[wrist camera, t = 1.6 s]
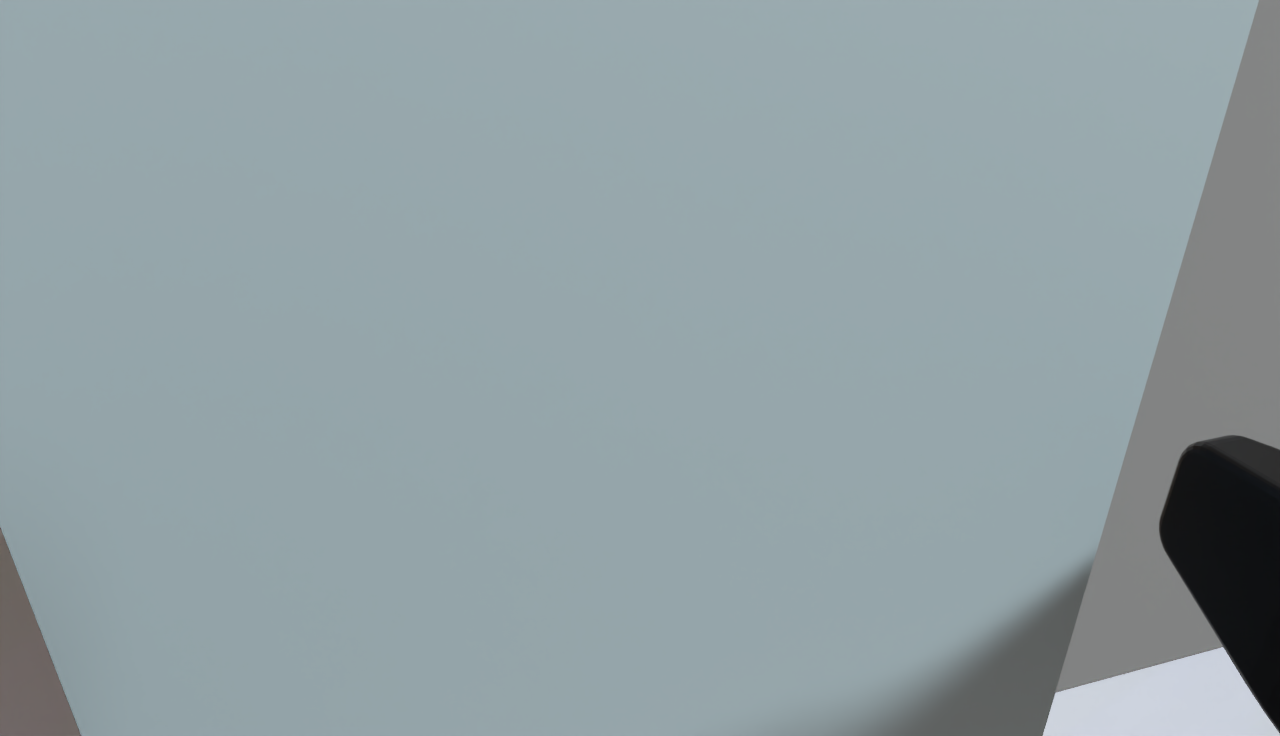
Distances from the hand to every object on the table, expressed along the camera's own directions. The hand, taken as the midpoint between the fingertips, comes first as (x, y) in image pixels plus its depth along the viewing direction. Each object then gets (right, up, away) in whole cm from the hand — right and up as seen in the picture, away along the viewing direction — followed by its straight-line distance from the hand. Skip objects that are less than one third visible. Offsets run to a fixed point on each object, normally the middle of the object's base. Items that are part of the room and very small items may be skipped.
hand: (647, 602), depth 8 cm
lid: (-1, +1, +2) cm, 2 cm away
